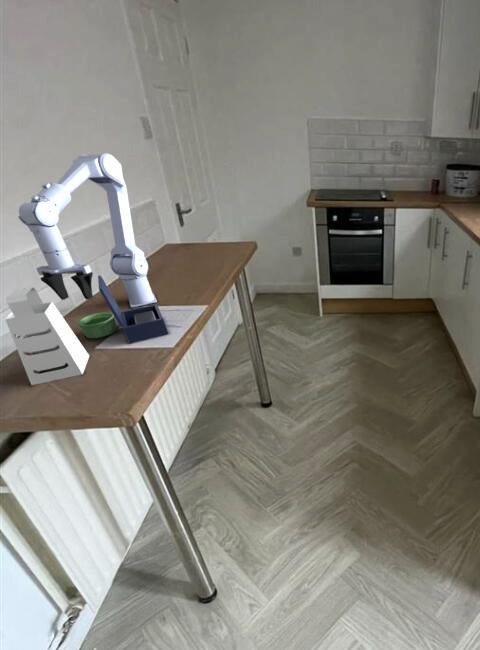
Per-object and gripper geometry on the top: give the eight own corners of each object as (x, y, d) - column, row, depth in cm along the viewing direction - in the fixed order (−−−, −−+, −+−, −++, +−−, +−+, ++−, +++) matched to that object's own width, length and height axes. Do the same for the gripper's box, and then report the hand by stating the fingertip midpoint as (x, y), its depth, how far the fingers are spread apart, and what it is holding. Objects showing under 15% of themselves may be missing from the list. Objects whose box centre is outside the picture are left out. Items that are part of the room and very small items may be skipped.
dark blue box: (162, 318, 129) (156, 303, 126) (168, 333, 118) (163, 318, 116) (126, 326, 125) (120, 312, 122) (129, 343, 114) (123, 328, 112)
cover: (100, 275, 116) (97, 276, 116) (101, 288, 105) (98, 289, 105) (120, 310, 122) (118, 311, 122) (123, 326, 112) (121, 327, 111)
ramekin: (87, 330, 123) (80, 316, 121) (120, 323, 126) (115, 310, 124) (81, 342, 116) (74, 327, 114) (117, 335, 119) (111, 320, 117)
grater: (31, 385, 98) (-18, 304, 87) (42, 365, 106) (-1, 289, 95) (82, 374, 101) (41, 294, 90) (89, 355, 109) (52, 281, 98)
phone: (137, 323, 124) (133, 314, 122) (156, 319, 126) (152, 309, 124) (140, 335, 117) (136, 325, 115) (160, 330, 119) (156, 320, 117)
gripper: (18, 255, 110) (43, 304, 117) (68, 253, 108) (90, 303, 116) (39, 248, 116) (62, 295, 123) (87, 246, 114) (107, 294, 122)
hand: (77, 298), depth 120 cm, fingers open, 7 cm apart
